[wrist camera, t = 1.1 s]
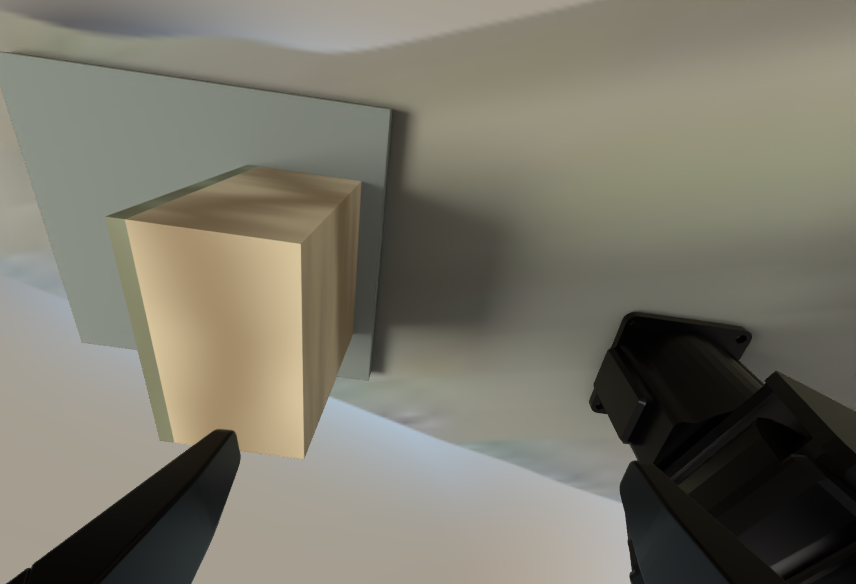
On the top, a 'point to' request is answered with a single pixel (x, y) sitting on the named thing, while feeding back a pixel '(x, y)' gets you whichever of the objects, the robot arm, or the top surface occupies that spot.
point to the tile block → (242, 302)
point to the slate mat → (177, 167)
